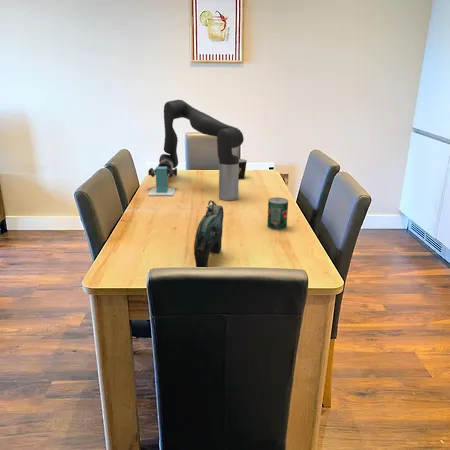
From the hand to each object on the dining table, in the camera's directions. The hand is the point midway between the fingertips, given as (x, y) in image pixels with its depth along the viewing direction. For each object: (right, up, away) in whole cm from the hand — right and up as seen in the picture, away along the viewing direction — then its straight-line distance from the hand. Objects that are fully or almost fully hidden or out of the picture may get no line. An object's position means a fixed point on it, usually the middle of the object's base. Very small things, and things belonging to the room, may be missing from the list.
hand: (161, 175), depth 220 cm
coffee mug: (+38, +2, +34) cm, 51 cm away
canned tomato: (+52, -25, -40) cm, 71 cm away
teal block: (0, -8, +3) cm, 8 cm away
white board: (0, -8, +3) cm, 9 cm away
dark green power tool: (+26, -36, -70) cm, 84 cm away
